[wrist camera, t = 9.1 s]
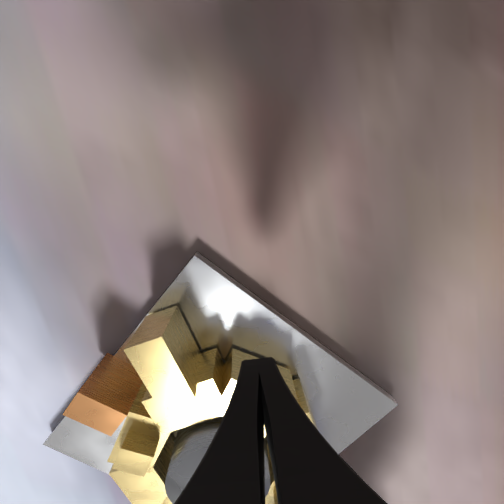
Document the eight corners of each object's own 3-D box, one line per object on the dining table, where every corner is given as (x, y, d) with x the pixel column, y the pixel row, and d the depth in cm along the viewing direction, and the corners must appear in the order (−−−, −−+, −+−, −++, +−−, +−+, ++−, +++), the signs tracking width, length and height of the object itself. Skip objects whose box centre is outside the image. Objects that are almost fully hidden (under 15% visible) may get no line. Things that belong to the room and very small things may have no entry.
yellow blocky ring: (334, 473, 20) (353, 535, 16) (185, 517, 20) (174, 584, 17) (262, 276, 14) (268, 306, 11) (65, 343, 15) (15, 391, 12)
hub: (391, 395, 19) (436, 460, 14) (241, 522, 22) (241, 605, 18) (190, 247, 15) (170, 276, 10) (45, 430, 18) (-15, 509, 14)
